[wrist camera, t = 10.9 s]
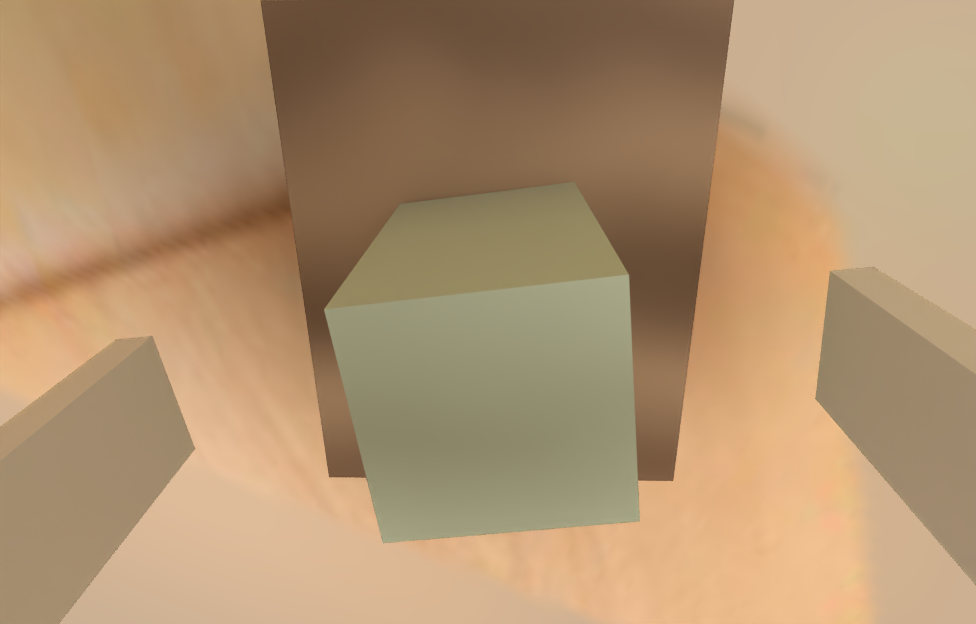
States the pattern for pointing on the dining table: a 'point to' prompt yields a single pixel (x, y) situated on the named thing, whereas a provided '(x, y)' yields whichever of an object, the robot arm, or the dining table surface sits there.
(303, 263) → the walnut block
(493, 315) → the sage block
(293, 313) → the dining table surface
